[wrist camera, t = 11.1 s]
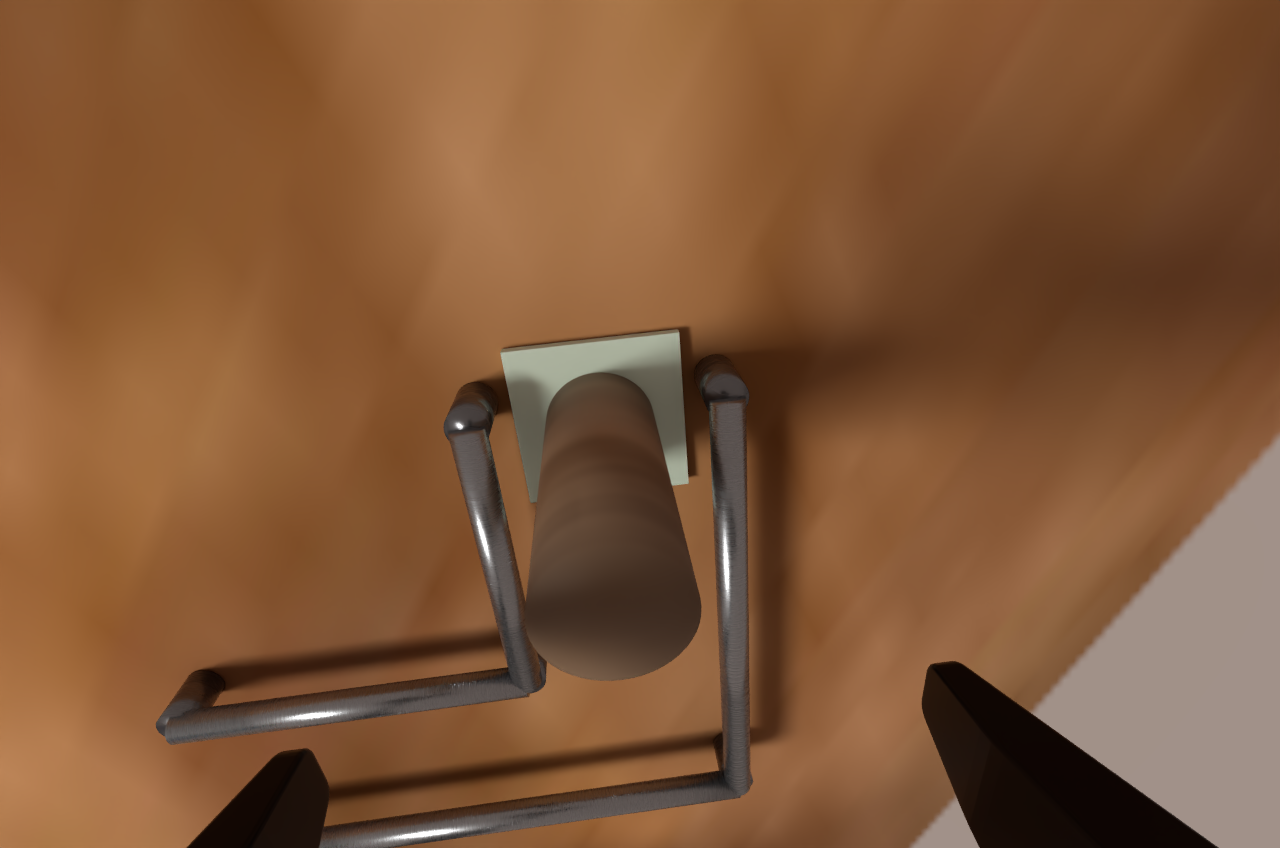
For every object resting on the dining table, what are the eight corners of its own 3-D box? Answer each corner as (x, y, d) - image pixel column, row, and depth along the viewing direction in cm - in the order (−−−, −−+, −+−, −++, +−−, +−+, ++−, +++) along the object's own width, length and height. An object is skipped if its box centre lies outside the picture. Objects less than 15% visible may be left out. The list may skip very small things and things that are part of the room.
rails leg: (741, 739, 26) (756, 793, 24) (545, 766, 25) (542, 823, 23) (733, 352, 18) (753, 382, 16) (451, 384, 18) (435, 420, 16)
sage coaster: (687, 478, 20) (688, 483, 20) (531, 497, 20) (530, 502, 19) (677, 329, 18) (679, 332, 17) (501, 348, 17) (500, 352, 17)
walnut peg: (658, 462, 19) (704, 668, 12) (554, 475, 19) (540, 690, 12) (649, 366, 18) (697, 535, 11) (537, 379, 18) (509, 559, 10)
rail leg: (742, 748, 26) (756, 803, 24) (266, 815, 25) (238, 877, 23) (738, 600, 22) (755, 649, 20) (181, 673, 22) (139, 731, 19)
